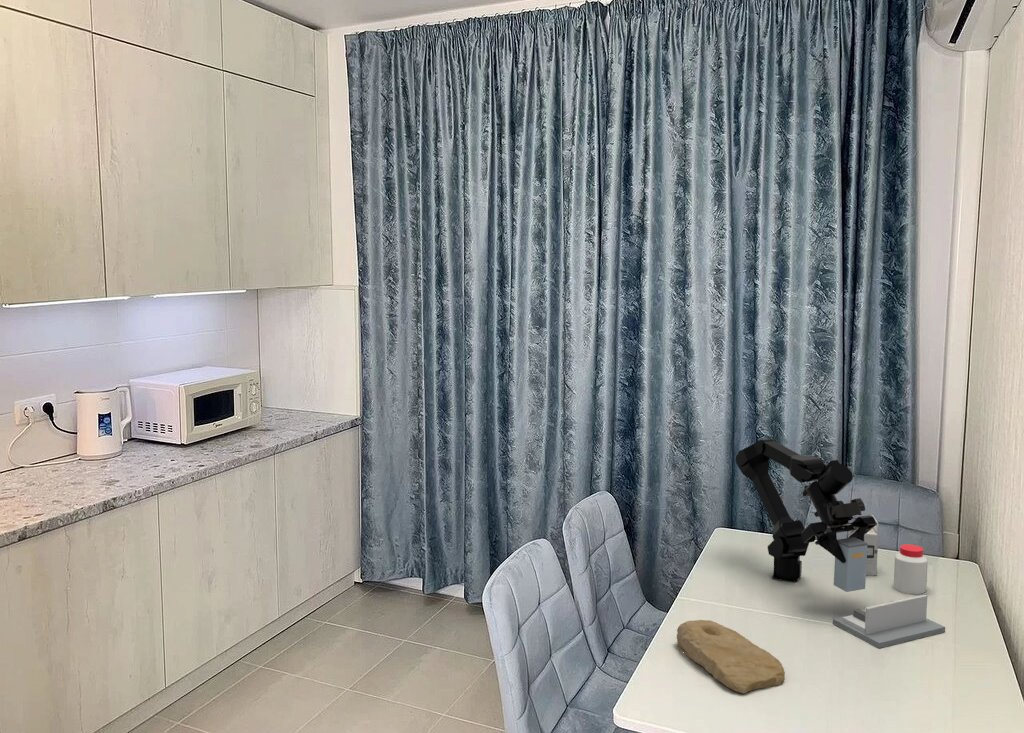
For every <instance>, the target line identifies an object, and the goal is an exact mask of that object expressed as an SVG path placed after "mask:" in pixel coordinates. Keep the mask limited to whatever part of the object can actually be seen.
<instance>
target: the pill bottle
mask: <svg viewBox="0 0 1024 733" xmlns="http://www.w3.org/2000/svg"><path fill="white" fill-rule="evenodd" d="M928 562H929V560H928V557H927V556H926V555H924V547H922V546H919V545H916V544H908V543H907V544H905V543H904V544H902V545H900V546H899V551H898V552H896V554H894V564H893V566H894V567H893V568H894V569H893V570H894V572H893V589H895V590H896V591H899V592H900V591H901V592H900V593H903V592H904V594H907V593H909V594H908V595H921V594H920V593H923V594H925V593H926V592H927V587H928V586H927V585H928V584H927V583H928ZM924 592H925V593H924Z"/></svg>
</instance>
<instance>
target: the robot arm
mask: <svg viewBox="0 0 1024 733" xmlns="http://www.w3.org/2000/svg"><path fill="white" fill-rule="evenodd" d="M771 460H772V461H774V462H775V463H777V464H779V465H780V466H783V467H784V468H786V469H787V470H788V471H789V474H790V475H791V477H793V478H794V479H795V480H796V481H797V482H798V483H809V482H811V483H810V484H809V485H804V490H803V491H802V497H809V498H810V500H811V503H812V505H813V506H814V509H815V512H814V516H815V518H819V519H820V520H821V521H817V522H812V523H809V524H808V525H807V526H806V527H804V524H803V522H802V521H801V520H800V519H799V520H794V519H793V518H791V515H790V514H789V512H788V509H787V507H786V506H785V504H784V500H782V498H781V496H780V494H779V492H778V489H777V487H776V486H775V484H774V482H773V480H772V478H771V475H770V473H769V471H770V466H771V464H770V461H771ZM824 462H825V461H824V460H822V459H821V458H818V457H814V456H811V455H803V454H800V453H798V452H796V451H794V450H792V449H790V448H789V447H787V446H784V445H782V444H780V443H779V442H777V440H775V439H773V438H764V439H763V438H762V439H761V438H760V439H758V440H757V441H755V442H754V443H752V444H751V445H749V446H747V447H744V448H743V449H741V450H738V453H737V455H735V463H736V465H737V468H738V469H739V470H740V472H741V474H742V475H744V477H746V478H748V479H749V480H750V481H751V482H752V483H753V485H754V486H753V487H755V490H756V492H757V494H758V496H759V498H760V500H761V502H762V505H763V506H764V508H765V511H766V512H767V513H766V514H767V515H768V517H769V519H770V521H771V523H772V525H773V527H772V535H771V536H772V539H773V540H772V541H771V542H770V543H769V545H767V552H768V553H767V554H768V555H769V556H771V557H773V574H772V576H771V579H773V580H776V581H777V580H778V581H784V582H790V583H791V582H792V583H798V581H799V580H800V579H801V577H802V575H803V574H802V572H803V571H802V569H803V567H802V565H803V564H802V563H803V562H802V560H800V559H801V557H804V556H806V554H807V551H808V548H809V544H810V543H814V544H815V545H818V546H820V547H821V548H823V549H824V550H826V551H828V553H829V554H830V555H832V556H834V558H835V557H836V558H837V559H838V560H839V561H841V562H842V563H845V562H846V559H845V556H844V554H843V552H842V550H841V548H840V546H839V543H838V541H837V540H838V539H837V538H838V537H837V534H838V533H845V532H847V533H848V535H849V536H848V537H847V538H852V537H855V538H857V539H859V540H862V541H864V535H865V534H866V533H867V532H869V531H870V530H871V529H872V528H873V527H875V526H876V525H877V523H876V521H875V519H876V518H875V516H874V517H872V515H863V516H862V512H865V511H866V506H865V503H864V501H863V500H862V498H861V497H860V498H853V499H851V500H850V502H847V503H845V502H843V500H838V498H837V497H836V495H837V494H839V493H840V492H842V491H843V489H845V488H846V486H848V485H849V484H850V483H851V482H852V481H853V478H854V476H853V475H854V474H853V472H852V470H851V469H849V467H847V466H846V465H844V464H842V463H840V462H839V460H838V459H833V460H832V459H831V460H830V461H829V462H828V463H827V464H825V463H824ZM854 516H858V517H857V518H855V519H854ZM874 518H875V519H874ZM853 519H854V520H853ZM852 520H853V521H852ZM850 521H851V522H850ZM816 539H817V540H816Z"/></svg>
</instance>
